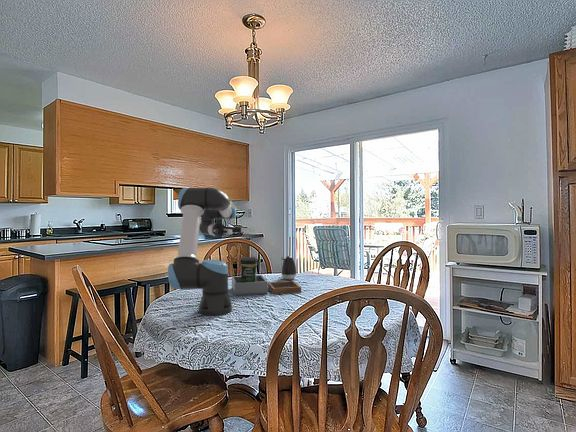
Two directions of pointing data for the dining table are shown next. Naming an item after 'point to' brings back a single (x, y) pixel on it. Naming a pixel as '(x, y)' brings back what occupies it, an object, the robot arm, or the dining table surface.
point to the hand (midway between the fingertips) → (240, 231)
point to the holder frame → (294, 289)
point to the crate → (249, 286)
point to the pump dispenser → (288, 268)
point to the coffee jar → (248, 269)
